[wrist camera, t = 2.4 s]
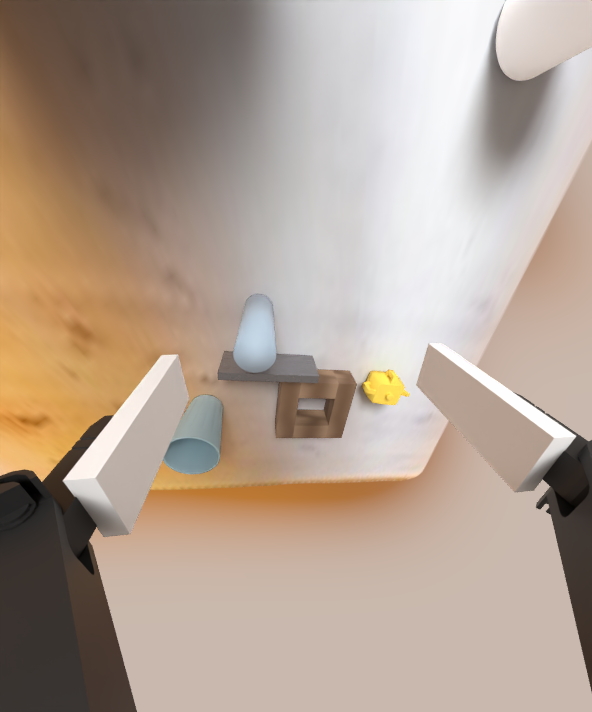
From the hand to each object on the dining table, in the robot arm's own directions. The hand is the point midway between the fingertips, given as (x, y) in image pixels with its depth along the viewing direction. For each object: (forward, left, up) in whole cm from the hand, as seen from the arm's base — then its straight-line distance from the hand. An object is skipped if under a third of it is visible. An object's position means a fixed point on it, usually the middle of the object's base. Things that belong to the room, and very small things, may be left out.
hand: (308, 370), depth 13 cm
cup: (-11, -23, -24) cm, 35 cm away
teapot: (+19, -16, -24) cm, 34 cm away
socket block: (+7, -20, -23) cm, 32 cm away
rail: (-1, -12, -23) cm, 26 cm away
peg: (-3, -4, -23) cm, 24 cm away
